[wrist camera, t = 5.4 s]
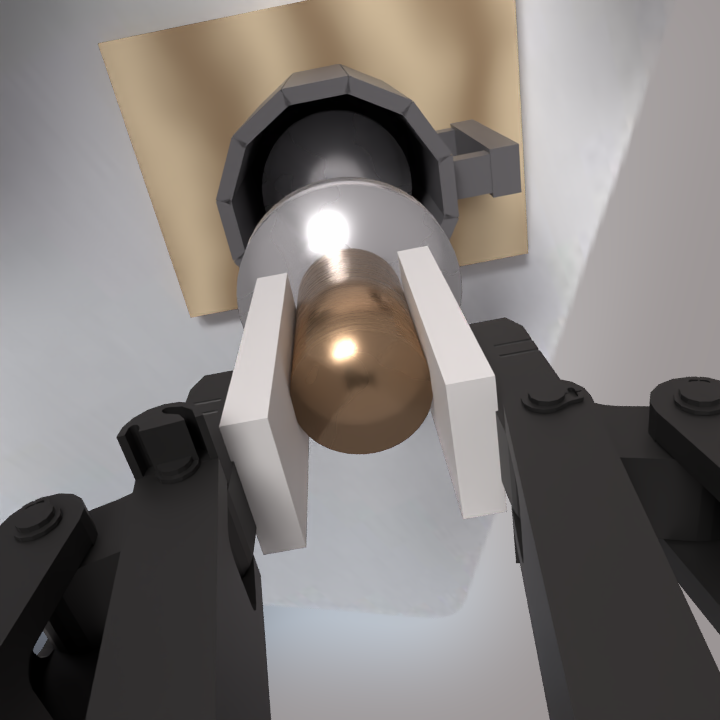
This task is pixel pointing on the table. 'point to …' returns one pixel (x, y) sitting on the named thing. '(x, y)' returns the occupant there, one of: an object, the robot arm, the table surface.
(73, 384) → the table surface
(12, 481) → the table surface
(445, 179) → the dark grey mug
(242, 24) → the board
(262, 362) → the robot arm
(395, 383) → the plunger
